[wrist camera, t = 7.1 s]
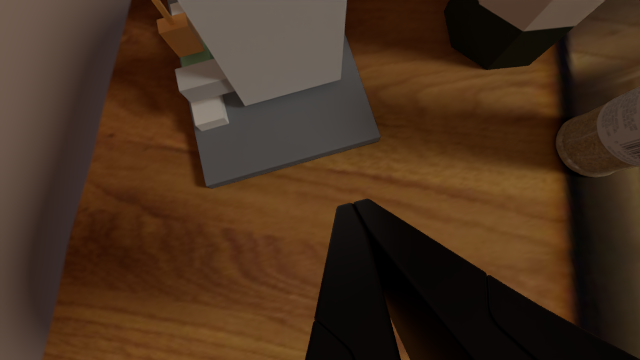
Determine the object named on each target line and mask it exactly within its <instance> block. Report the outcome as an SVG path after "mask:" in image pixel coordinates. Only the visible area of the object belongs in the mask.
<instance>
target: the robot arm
mask: <svg viewBox="0 0 640 360" xmlns="http://www.w3.org/2000/svg"><path fill="white" fill-rule="evenodd" d="M390 318H391V319H390ZM314 319H315V321H314V322H313V326H312V331H311V336H310V341H309V345H308V349H307V353H306V357H305V360H401V358H400V354H399V350H398V346H397V342H396V339H395V335H394V331H393V327H392V323H391V320H392V322H393V324H394V326H395V328H396V331H397V333H398V335H399V337H400V339H401V341H402V343H403V345H404V348H405V350H406V352H407V354H408V356H409V358H410V360H640V359H638V358H636V357H635V356H633V355H631V354H629V353H627V352H625V351H623V350H621V349H619V348H618V347H616V346H614V345H612V344H610V343H608V342H606V341H604V340H602V339H601V338H599V337H597V336H595V335H593V334H591V333H589V332H587V331H585V330H584V329H582V328H580V327H578V326H576V325H574V324H573V323H571V322H569V321H567V320H565V319H563V318H562V317H560V316H558V315H556V314H554V313H553V312H551V311H549V310H547V309H545V308H544V307H542V306H540V305H538V304H537V303H535V302H533V301H532V300H530V299H528V298H527V297H525V296H523V295H522V294H520V293H518V292H517V291H515V290H513V289H512V288H510V287H508V286H507V285H505V284H503V283H502V282H500V281H499V280H497V279H496V278H494V277H492V276H491V275H488V276H487V274H486V272H484V271H483V270H481V269H479V268H478V267H476V266H475V265H473V264H471V263H470V262H468V261H467V260H465V259H464V258H462V257H460V256H459V255H457V254H456V253H454V252H452V251H451V250H449V249H448V248H446V247H445V246H443V245H441V244H440V243H438V242H437V241H435V240H433V239H432V238H430V237H429V236H427V235H425V234H424V233H422V232H421V231H419V230H418V229H416V228H414V227H413V226H411V225H410V224H408V223H406V222H405V221H403V220H402V219H400V218H399V217H397V216H395V215H394V214H392V213H391V212H389V211H387V210H386V209H384V208H383V207H381V206H379V205H378V204H376V203H375V202H373V201H372V200H370V199H363V200H359V201H356V202H354V204H352V203H348V204H344V205H340V206H338V207H337V209H336V214H335V219H334V224H333V228H332V233H331V238H330V243H329V248H328V253H327V258H326V263H325V268H324V273H323V278H322V283H321V288H320V292H319V297H318V302H317V307H316V312H315V317H314Z"/></svg>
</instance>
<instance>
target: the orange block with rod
mask: <svg viewBox="0 0 640 360" xmlns="http://www.w3.org/2000/svg"><path fill="white" fill-rule="evenodd" d="M151 1H152V2H153V3H154V5H155V6H156V7H157V9H158V10H159V11H160V13H161V14H162V15H163V17H164V18H162V19H158V20H157V25H158V30H159V34H160V35H161V36H162V38H163V39H164V40H165V41H166V42H167V44H168V45H169V46H170V47H171V48H172V50H173V51H174V52H175V53H176V54H177V56H178V57H179V58H180V57H184V56H187V55H191V54H195V53H198V52H202V51H205V50H204V46H203V42H202V38H201V37H200V35H199V33H198V32H197V30H196V29H195V27H194V26H193V24H192V23H191V21H190V19H189V18H188V16H187V15H186V13H185V12H184V13H180V14H176V15H173V16H171V15H170V14H169V12H168V11H167V10H166V8H165V7H164V5H163V4H162V3H161V1H160V0H151Z"/></svg>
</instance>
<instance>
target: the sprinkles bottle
mask: <svg viewBox="0 0 640 360" xmlns="http://www.w3.org/2000/svg"><path fill="white" fill-rule="evenodd" d="M556 149H557V151H558V153H559V156H560V158H561V159H562V161H563V162H564V164H565V165H566V166H567V167H569V168H570V169H571V170H573V171H574V172H577V173H579V174H581V175H584V176H589V177H600V176H607V175H610V174H611V173H613V172H616V171H620V170H625V169H629V168H633V167H638V166H640V87H638V88H636V89H633V90H631V91H629V92H627V93H625V94H623V95H621V96H619V97H617V98H615V99H613V100H611V101H610V102H608V103H607V104H605V105H603V106H601V107H599V108H597V109H595V110H592V111H590V112H588V113H586V114H584V115H581V116H577V117H575V118H572V119H571V120H569V121H567V122H565V123H564V124H563V125H562V127H561V128H560V130H559V131H558V134H557V137H556Z"/></svg>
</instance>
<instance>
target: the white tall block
mask: <svg viewBox="0 0 640 360" xmlns="http://www.w3.org/2000/svg"><path fill="white" fill-rule="evenodd" d="M177 1H178V2H179V4H180V5H181V7H182V8H183V10H184V12H185V13H186V15H187V16H188V18H189V19H190V21H191V22H192V24H193V26H194V27H195V29H196V30H197V32H198V33H199V35H200V36H201V38H202V40H203V41H204V43H205V44H206V46H207V47H208V49H209V50H210V52H211V54H212V55H213V57H214V58H215V59H211V60H208V61H204V62H200V63H197V64H193V65H189V66H186V67H182V68H178V69H175V72H176V77H177V82H178V87H179V92H180V93H182V94H183V95H184V96H185V97H186V98H187V99H188V100H189V101H190V102H191V103H193V102H197V101H200V100H204V99H208V98H211V97H215V96H218V95H222V94H226V93H229V92H233V91H236V93H237V94H238V96H239V97H240V99H241V100H242V102H243V103H244V105H245V106H247V105H251V104H254V103H258V102H262V101H265V100H269V99H272V98H276V97H280V96H283V95H287V94H290V93H294V92H298V91H301V90H305V89H308V88H312V87H316V86H319V85H323V84H326V83H330V82H334V81H337V80H341V70H342V57H343V44H344V30H345V17H346V4H347V0H177Z"/></svg>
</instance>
